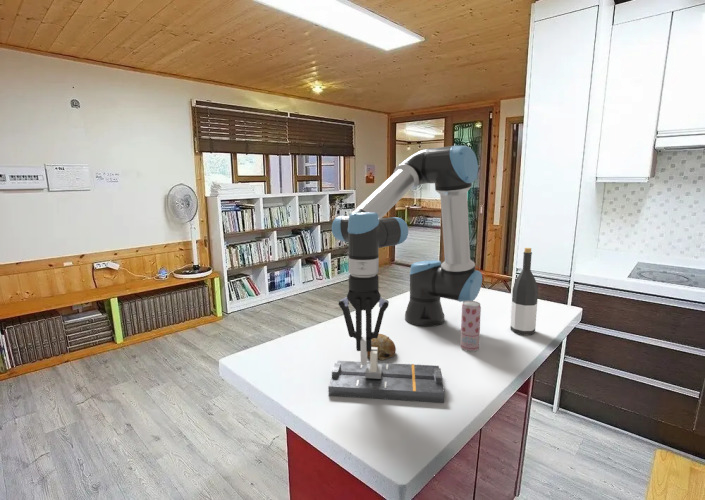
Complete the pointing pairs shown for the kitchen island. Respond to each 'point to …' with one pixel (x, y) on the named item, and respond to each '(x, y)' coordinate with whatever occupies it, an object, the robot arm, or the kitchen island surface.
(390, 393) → the console
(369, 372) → the fader
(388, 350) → the bread roll
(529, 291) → the wine bottle
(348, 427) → the kitchen island surface
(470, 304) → the beverage can
